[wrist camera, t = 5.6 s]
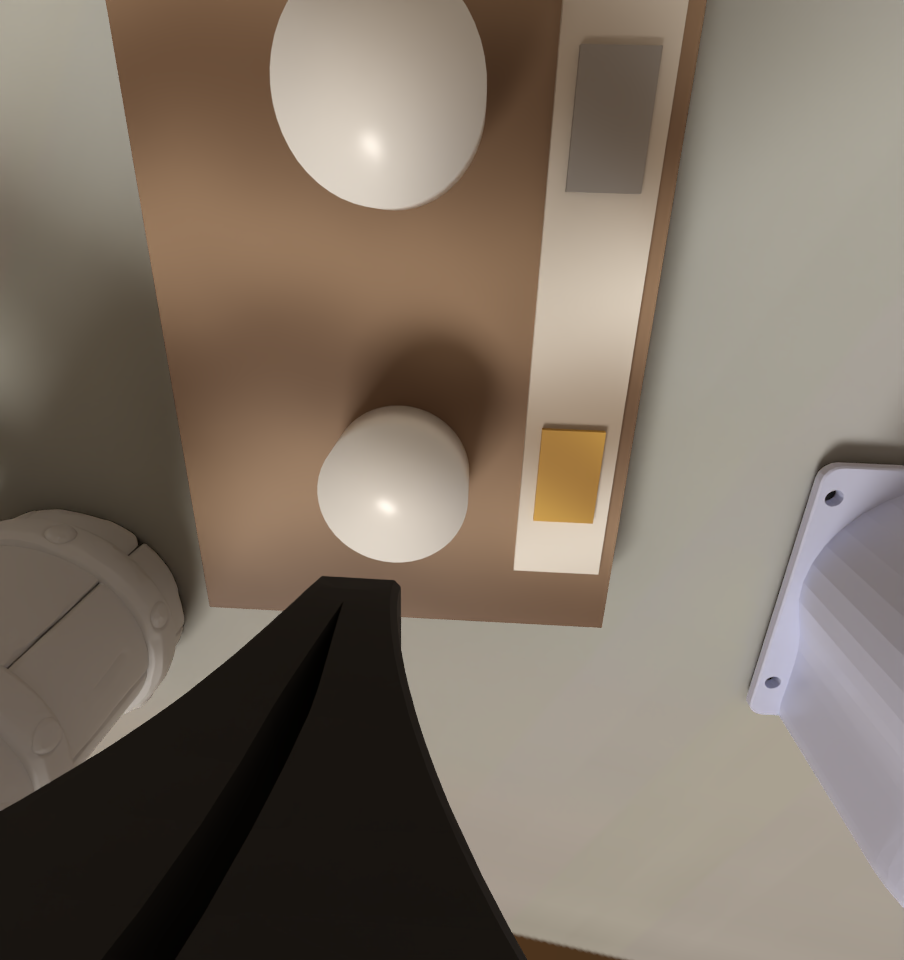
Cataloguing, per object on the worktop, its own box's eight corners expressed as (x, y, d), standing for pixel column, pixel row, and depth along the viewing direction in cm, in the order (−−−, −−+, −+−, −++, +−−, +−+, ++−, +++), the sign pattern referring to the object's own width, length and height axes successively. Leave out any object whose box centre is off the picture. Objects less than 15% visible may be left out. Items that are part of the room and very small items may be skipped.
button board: (590, 589, 19) (603, 634, 17) (235, 571, 19) (204, 613, 17) (811, -862, 9) (922, -1226, 6) (30, -843, 9) (-114, -1181, 7)
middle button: (481, 214, 12) (481, 211, 10) (305, 207, 12) (280, 204, 10) (491, -11, 10) (492, -51, 9) (290, -15, 10) (258, -56, 9)
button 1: (466, 534, 16) (465, 566, 14) (336, 528, 16) (322, 559, 14) (472, 408, 14) (471, 429, 13) (329, 402, 14) (312, 422, 13)
